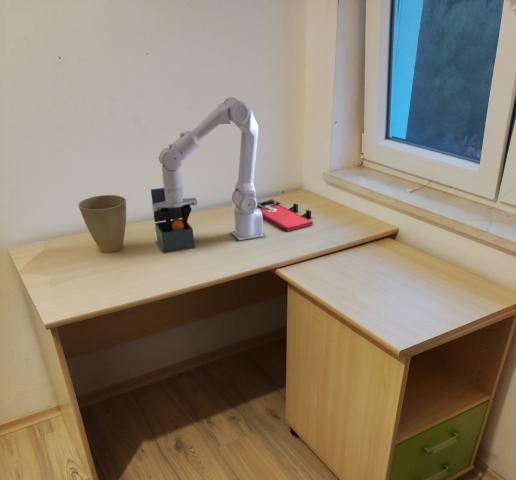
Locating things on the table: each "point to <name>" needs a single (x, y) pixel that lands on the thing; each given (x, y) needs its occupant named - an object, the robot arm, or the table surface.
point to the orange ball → (177, 224)
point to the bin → (174, 237)
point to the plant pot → (105, 220)
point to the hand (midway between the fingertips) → (177, 228)
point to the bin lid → (159, 196)
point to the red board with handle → (284, 215)
